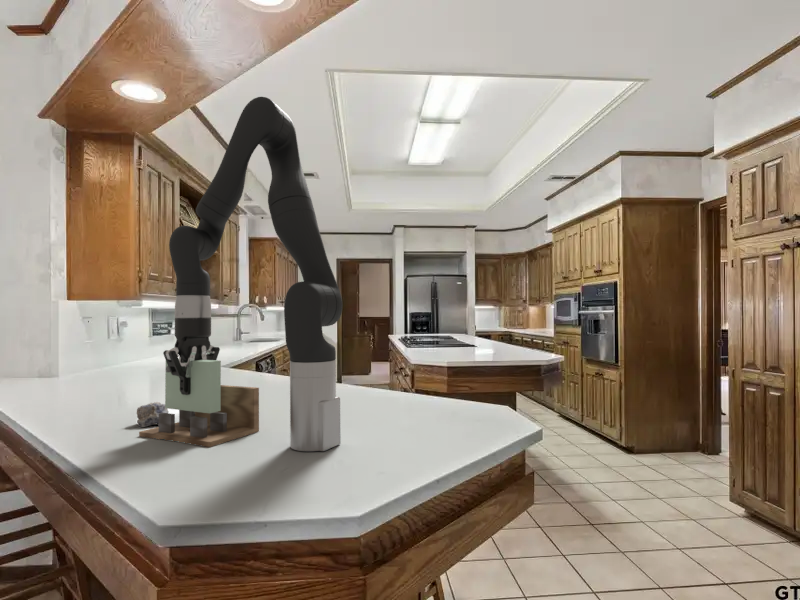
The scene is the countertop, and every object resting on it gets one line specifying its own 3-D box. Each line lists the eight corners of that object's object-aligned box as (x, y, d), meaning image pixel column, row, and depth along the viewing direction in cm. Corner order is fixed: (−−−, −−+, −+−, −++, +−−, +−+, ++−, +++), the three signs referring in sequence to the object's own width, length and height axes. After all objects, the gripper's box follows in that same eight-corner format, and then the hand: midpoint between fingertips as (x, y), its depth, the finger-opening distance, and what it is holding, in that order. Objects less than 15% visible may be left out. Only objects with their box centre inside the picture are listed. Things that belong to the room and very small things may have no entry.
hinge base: (259, 431, 107) (258, 387, 108) (210, 447, 95) (210, 397, 95) (191, 423, 117) (191, 382, 117) (139, 436, 104) (139, 391, 105)
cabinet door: (220, 410, 103) (220, 360, 103) (205, 414, 99) (206, 362, 99) (176, 405, 109) (176, 358, 109) (161, 408, 105) (161, 360, 105)
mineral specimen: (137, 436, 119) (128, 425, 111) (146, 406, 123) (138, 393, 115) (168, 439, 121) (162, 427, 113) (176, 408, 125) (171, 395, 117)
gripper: (177, 316, 97) (177, 399, 96) (229, 315, 110) (229, 389, 109) (153, 316, 100) (152, 397, 100) (206, 316, 113) (206, 387, 112)
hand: (192, 392), depth 104 cm, fingers closed on cabinet door, 3 cm apart
